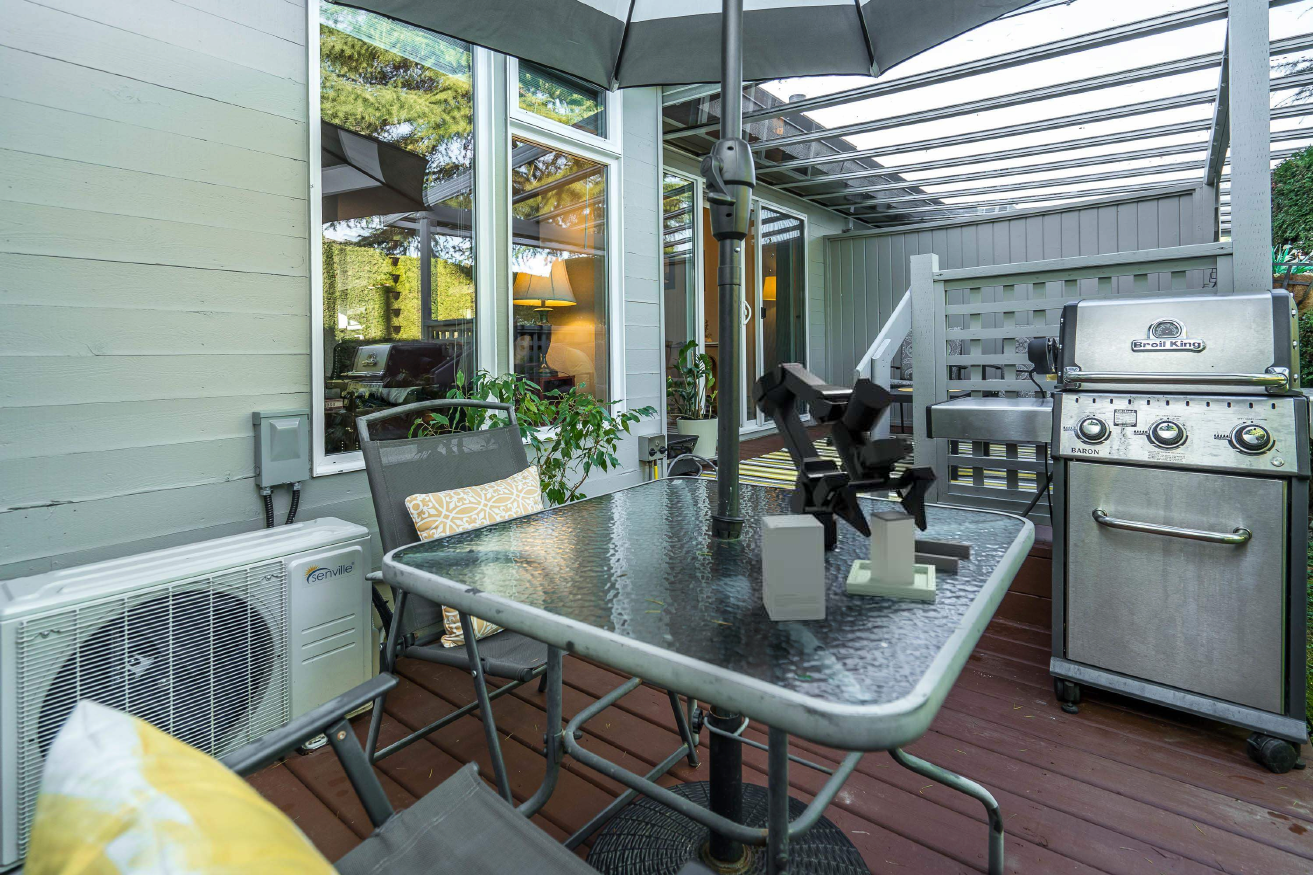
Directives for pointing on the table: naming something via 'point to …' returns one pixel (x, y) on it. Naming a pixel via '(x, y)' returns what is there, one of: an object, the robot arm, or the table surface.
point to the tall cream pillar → (892, 547)
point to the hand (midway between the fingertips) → (897, 533)
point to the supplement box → (793, 567)
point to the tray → (866, 585)
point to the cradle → (940, 548)
